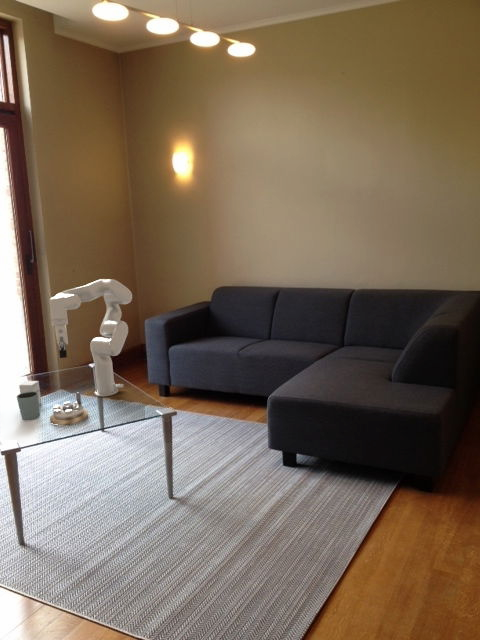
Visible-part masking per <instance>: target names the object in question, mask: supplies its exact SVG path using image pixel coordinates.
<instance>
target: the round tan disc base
mask: <svg viewBox="0 0 480 640" xmlns="http://www.w3.org/2000/svg"><path fill="white" fill-rule="evenodd" d="M83 412H84V413H83V414H82V415H81V416H79V417H76V418H73V419H68V420H58V419H55V418H54V413H52V414H51V415H50V417H49V421H50V424H51V423H53V424H58V425H68V426H72V425H73V426H74V425H77V424H80V423H82V422H84V421H86V420H87V419H89V413H88V410H87V409H85V408H83ZM53 424H52V425H53Z"/></svg>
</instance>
